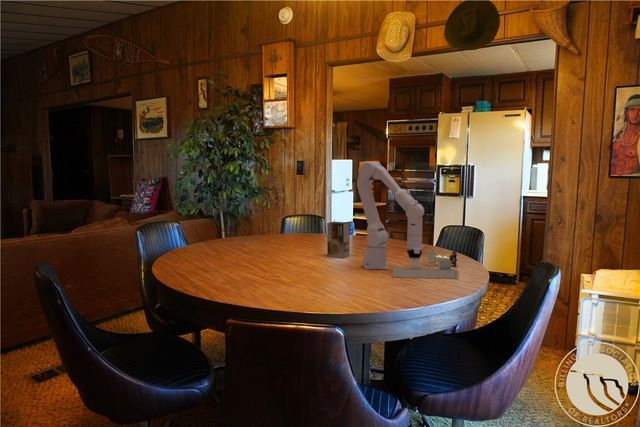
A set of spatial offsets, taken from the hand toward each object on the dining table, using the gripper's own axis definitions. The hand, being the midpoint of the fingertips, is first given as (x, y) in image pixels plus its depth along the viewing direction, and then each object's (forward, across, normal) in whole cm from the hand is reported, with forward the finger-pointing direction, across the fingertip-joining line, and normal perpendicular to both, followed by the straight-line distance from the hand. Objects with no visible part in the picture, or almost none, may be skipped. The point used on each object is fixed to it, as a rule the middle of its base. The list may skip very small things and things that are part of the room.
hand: (413, 268), depth 170 cm
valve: (+2, +12, -13) cm, 18 cm away
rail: (+1, -6, -3) cm, 7 cm away
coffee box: (+2, +29, +31) cm, 42 cm away
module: (+1, -5, 0) cm, 5 cm away
